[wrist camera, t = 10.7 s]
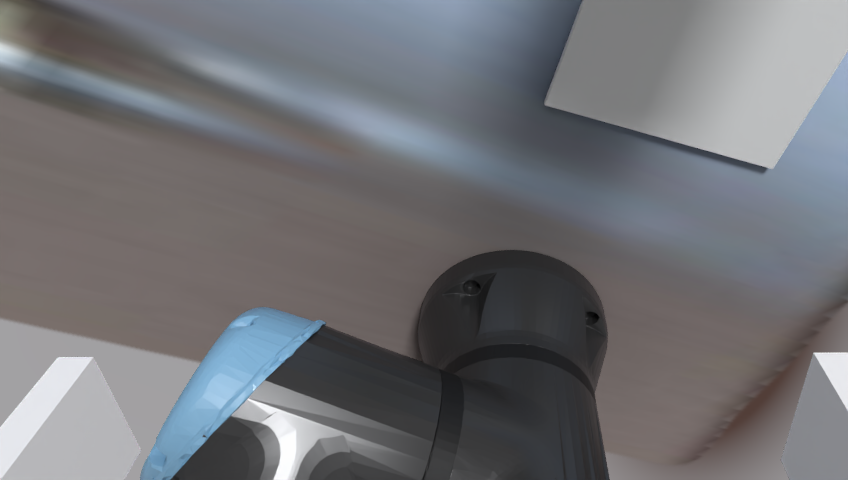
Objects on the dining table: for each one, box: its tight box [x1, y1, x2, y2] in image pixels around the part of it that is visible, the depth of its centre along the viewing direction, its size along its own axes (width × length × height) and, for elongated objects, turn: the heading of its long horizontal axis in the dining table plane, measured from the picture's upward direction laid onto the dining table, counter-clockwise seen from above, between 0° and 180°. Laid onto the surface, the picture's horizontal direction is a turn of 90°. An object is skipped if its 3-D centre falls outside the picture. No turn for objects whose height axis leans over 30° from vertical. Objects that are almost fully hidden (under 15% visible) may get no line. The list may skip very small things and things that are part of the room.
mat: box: [544, 0, 848, 169], centre depth 38 cm, size 16×16×1 cm
